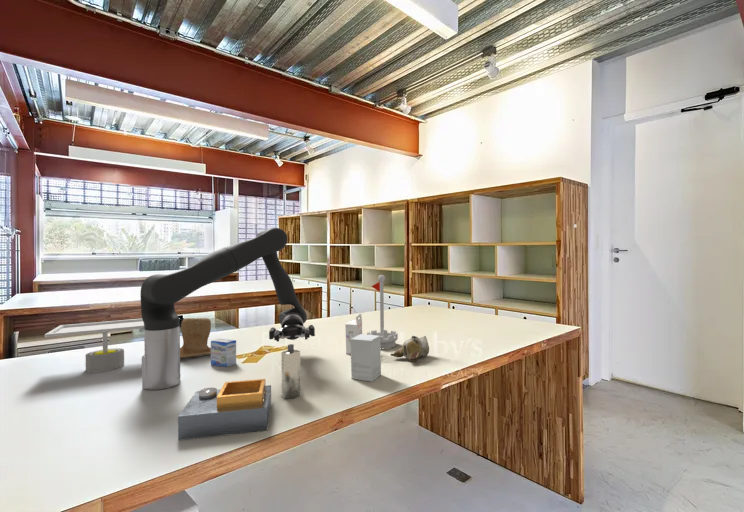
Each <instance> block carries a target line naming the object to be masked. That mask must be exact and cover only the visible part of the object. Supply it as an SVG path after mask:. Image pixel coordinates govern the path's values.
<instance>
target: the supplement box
mask: <svg viewBox="0 0 744 512" xmlns="http://www.w3.org/2000/svg"><path fill="white" fill-rule="evenodd" d="M381 350H382V349H380V336H377V335H367V334H365V333H364V334H363V333H362V334H360V335H358V336H356V337H354V338H352V339H351V354H350V363H351V364H350V367H351V370H350V372H351V379H352V380H357V381H358V380H359V381H364V382H374V381H375V380H376V379H378V378H379V377H380V376H381V374H382V357H381V352H382V351H381Z"/></svg>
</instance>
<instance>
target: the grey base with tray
mask: <svg viewBox="0 0 744 512" xmlns="http://www.w3.org/2000/svg"><path fill="white" fill-rule="evenodd" d="M271 408H272V385H271V384H270V385H269V384H268V385H267V384H266V378H260V379H259V378H258V379H257V378H256V379H248V380H246V379H245V380H244V379H243V380H236V381H233V380H232V381H225V382H223V385H222V387H221V389H217V388H216V387H206V388H202V389H199V390H197V391H195V392H194V393H193V395H192V397H191V398H190V399H189V401H188V402H187V404H186V405H185V406H184V407H183V409H182V410H181V411H180V413H179V414H178V416H177V433H178V434H177V437H178V438H177V439H178V441H181V440H190V439H191V440H192V439H200V438H201V439H202V438H207V437H208V438H210V437H218V436H228V435H235V434H236V435H238V434H246V433H257V432H264V431H268V427H269V421H270V415H271Z"/></svg>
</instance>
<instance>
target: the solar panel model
mask: <svg viewBox="0 0 744 512" xmlns="http://www.w3.org/2000/svg"><path fill="white" fill-rule="evenodd" d="M139 329H140V330H141V329H144V322H143V320H142V318H133V319H122V320H121V319H120V320H119V319H118V320H109V321H98V322H97V321H96V322H84V323H71V324H60V325H58V326H57V327H55V328H53V329H51V330H50V331H48V332H47V333H45V334H44V338H52V337H63V336H65V337H66V336H76V335H85V334H97V333H98V334H99V333H102V349H100V350H99V349H98V350H94V351H90V352H87V353H86V354H85V372H87V373H99V372H106V371H107V372H108V371H112V370H116V369H119V368H122V367H124V366H125V349H124V348H118V347H117V348H108V347H109V346H108V341H109V340H108V337H109V336H108V332H119V331H129V330H139Z"/></svg>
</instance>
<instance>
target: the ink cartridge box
mask: <svg viewBox="0 0 744 512" xmlns="http://www.w3.org/2000/svg"><path fill="white" fill-rule="evenodd" d="M355 318H356V319H353V320H349V321H348V322H347V323H345V354H346V355H351V339H352V338H354V337H356V336H358V335H360V334H363V317H362V313H359V314H358V315H356V317H355Z"/></svg>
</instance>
